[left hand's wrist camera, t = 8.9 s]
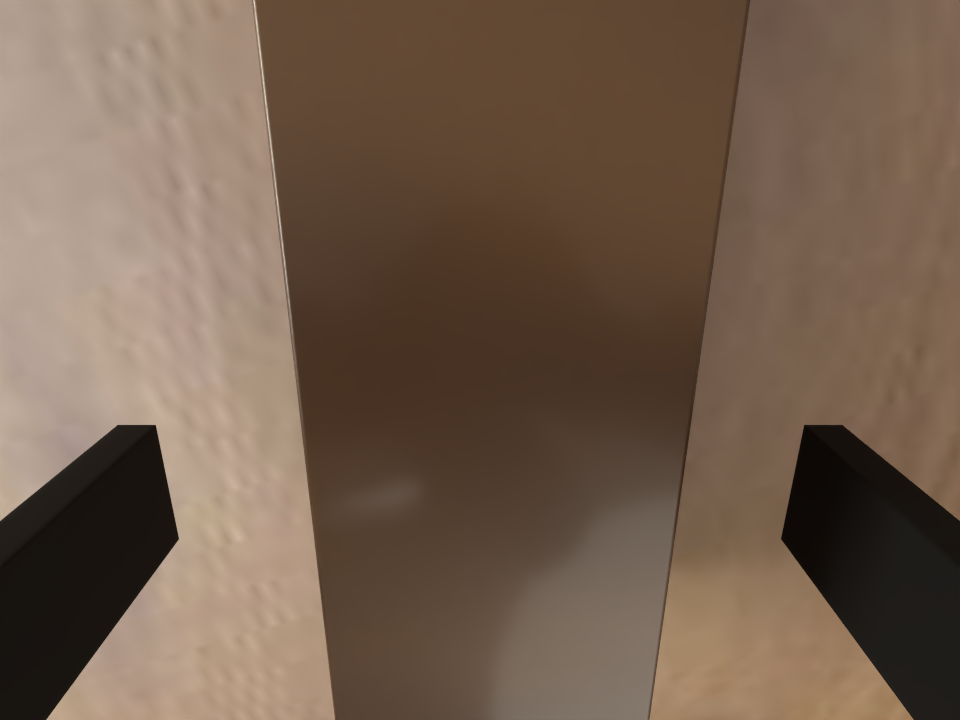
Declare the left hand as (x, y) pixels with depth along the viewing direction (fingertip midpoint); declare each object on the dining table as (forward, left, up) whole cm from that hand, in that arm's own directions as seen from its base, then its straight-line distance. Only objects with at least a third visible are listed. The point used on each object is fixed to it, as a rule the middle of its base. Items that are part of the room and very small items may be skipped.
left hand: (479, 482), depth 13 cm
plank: (+16, +3, -5) cm, 17 cm away
